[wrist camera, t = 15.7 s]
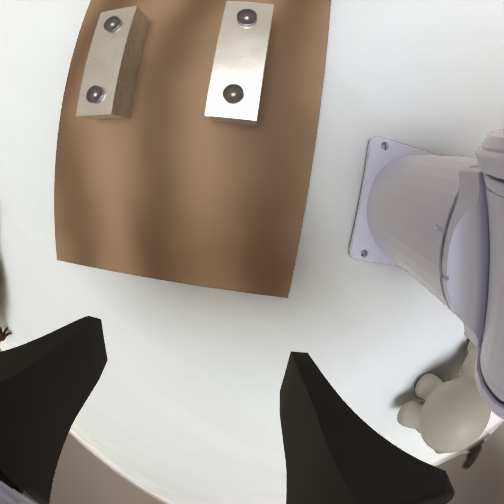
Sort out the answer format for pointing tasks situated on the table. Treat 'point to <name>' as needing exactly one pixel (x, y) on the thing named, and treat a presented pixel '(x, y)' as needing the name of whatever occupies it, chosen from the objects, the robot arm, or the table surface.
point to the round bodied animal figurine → (448, 409)
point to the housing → (223, 72)
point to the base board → (193, 155)
